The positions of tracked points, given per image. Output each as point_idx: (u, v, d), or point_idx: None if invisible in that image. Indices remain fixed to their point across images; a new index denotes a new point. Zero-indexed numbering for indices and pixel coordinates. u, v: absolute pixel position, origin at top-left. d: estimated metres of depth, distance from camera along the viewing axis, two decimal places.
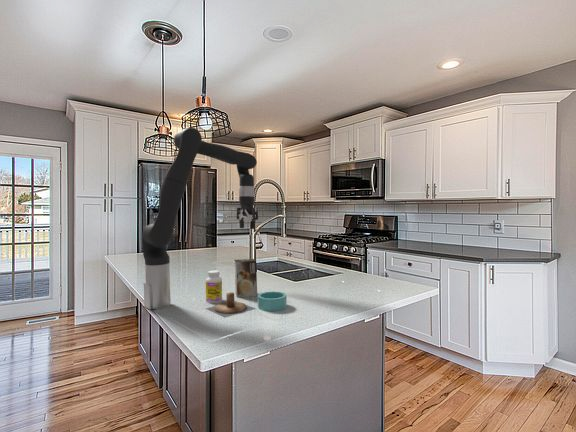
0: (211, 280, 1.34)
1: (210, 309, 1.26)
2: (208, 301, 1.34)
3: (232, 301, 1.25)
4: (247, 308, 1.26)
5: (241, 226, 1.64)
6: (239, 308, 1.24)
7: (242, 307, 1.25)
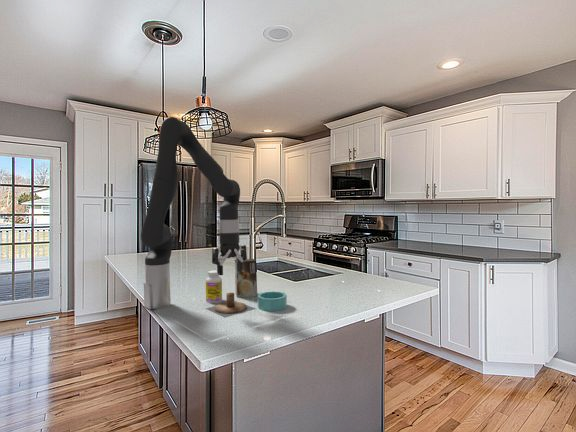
0: (211, 280, 1.34)
1: (210, 309, 1.26)
2: (208, 301, 1.34)
3: (232, 301, 1.25)
4: (247, 308, 1.26)
5: None
6: (239, 308, 1.24)
7: (242, 307, 1.25)
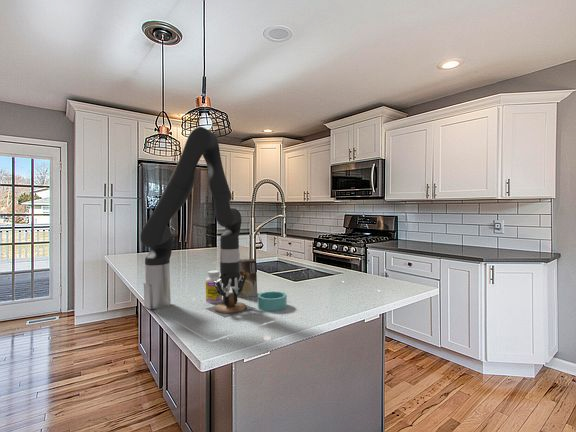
0: (211, 280, 1.34)
1: (210, 309, 1.26)
2: (208, 301, 1.34)
3: (232, 301, 1.25)
4: (247, 308, 1.26)
5: None
6: (239, 308, 1.24)
7: (242, 307, 1.25)
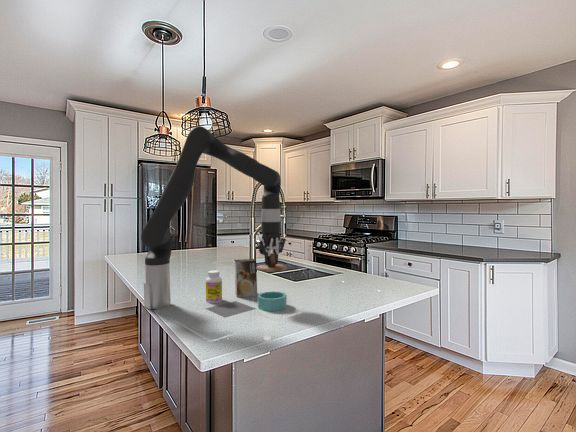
0: (211, 280, 1.34)
1: (210, 309, 1.26)
2: (208, 301, 1.34)
3: (274, 261, 1.27)
4: (247, 308, 1.26)
5: None
6: (281, 267, 1.25)
7: (284, 267, 1.26)
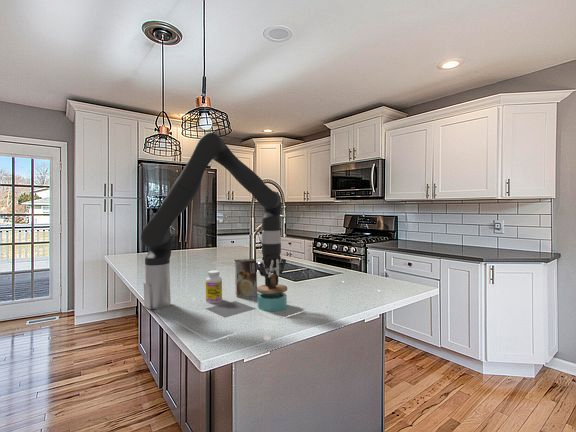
0: (211, 280, 1.34)
1: (210, 309, 1.26)
2: (208, 301, 1.34)
3: (274, 282, 1.27)
4: (247, 308, 1.26)
5: None
6: (281, 289, 1.26)
7: (284, 288, 1.27)
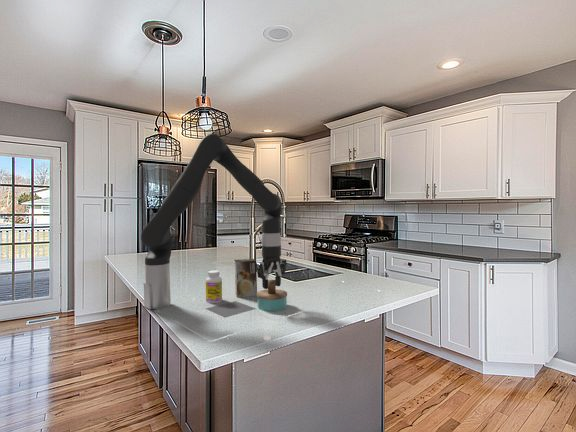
0: (211, 280, 1.34)
1: (210, 309, 1.26)
2: (208, 301, 1.34)
3: (274, 288, 1.27)
4: (247, 308, 1.26)
5: None
6: (281, 294, 1.26)
7: (284, 294, 1.27)
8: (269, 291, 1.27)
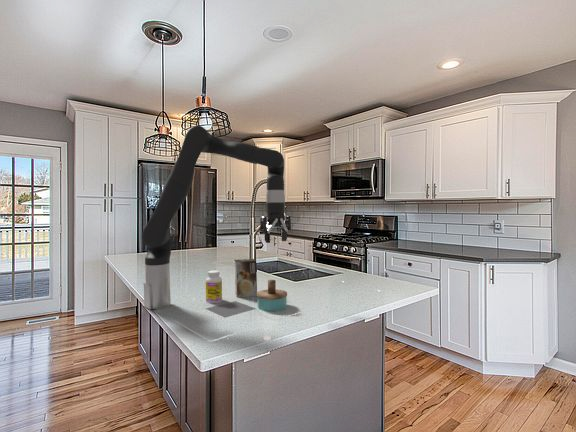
0: (211, 280, 1.34)
1: (210, 309, 1.26)
2: (208, 301, 1.34)
3: (274, 288, 1.27)
4: (247, 308, 1.26)
5: None
6: (281, 294, 1.26)
7: (284, 294, 1.27)
8: (269, 291, 1.27)
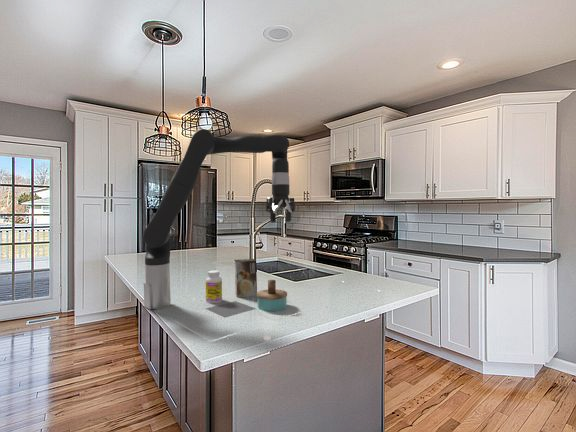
0: (211, 280, 1.34)
1: (210, 309, 1.26)
2: (208, 301, 1.34)
3: (274, 288, 1.27)
4: (247, 308, 1.26)
5: None
6: (281, 294, 1.26)
7: (284, 294, 1.27)
8: (269, 291, 1.27)
